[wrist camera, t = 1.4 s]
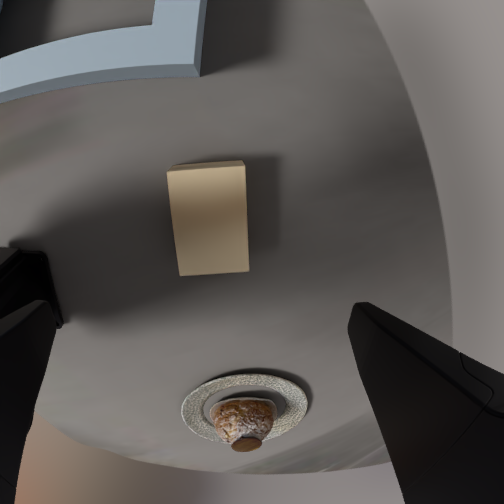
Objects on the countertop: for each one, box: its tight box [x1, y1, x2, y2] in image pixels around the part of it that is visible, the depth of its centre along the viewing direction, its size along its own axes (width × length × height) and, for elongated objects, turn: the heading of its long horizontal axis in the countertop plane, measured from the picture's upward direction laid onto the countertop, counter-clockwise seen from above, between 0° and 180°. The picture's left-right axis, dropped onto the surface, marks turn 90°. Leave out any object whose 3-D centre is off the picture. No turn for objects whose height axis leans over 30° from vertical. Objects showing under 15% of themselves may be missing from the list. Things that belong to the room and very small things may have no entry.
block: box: [167, 160, 249, 276], centre depth 17 cm, size 6×4×2 cm, turn 2°
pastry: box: [181, 374, 308, 452], centre depth 25 cm, size 12×12×5 cm
